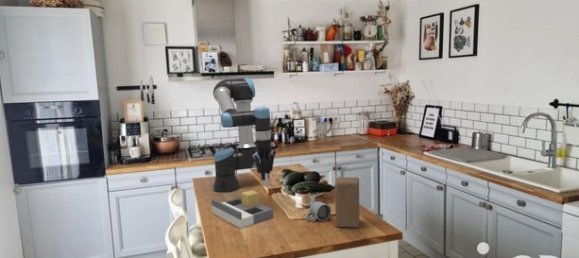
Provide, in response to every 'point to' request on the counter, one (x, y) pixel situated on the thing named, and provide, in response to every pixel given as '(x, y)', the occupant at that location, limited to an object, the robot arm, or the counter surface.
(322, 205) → the ceramic mug
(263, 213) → the tray
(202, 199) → the counter surface
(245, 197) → the ochre cube
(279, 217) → the counter surface
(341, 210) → the wooden block
